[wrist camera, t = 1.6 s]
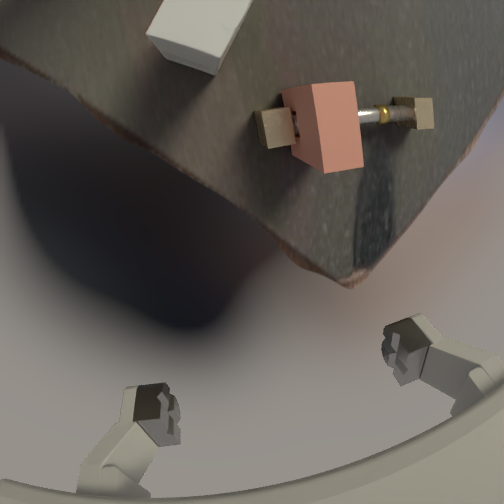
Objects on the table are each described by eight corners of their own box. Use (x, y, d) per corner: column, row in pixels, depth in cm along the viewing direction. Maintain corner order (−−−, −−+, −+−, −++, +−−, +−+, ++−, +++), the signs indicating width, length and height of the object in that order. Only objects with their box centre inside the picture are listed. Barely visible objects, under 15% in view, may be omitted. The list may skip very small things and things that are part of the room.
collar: (292, 155, 36) (324, 173, 26) (281, 90, 32) (311, 84, 23) (323, 149, 36) (363, 166, 26) (313, 86, 32) (353, 81, 23)
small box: (193, 2, 26) (190, -46, 14) (244, 20, 28) (266, -22, 16) (163, 60, 29) (143, 34, 17) (215, 77, 31) (222, 59, 19)
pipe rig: (259, 143, 35) (268, 148, 31) (253, 111, 33) (261, 111, 29) (412, 124, 36) (434, 128, 32) (410, 96, 34) (431, 98, 30)
